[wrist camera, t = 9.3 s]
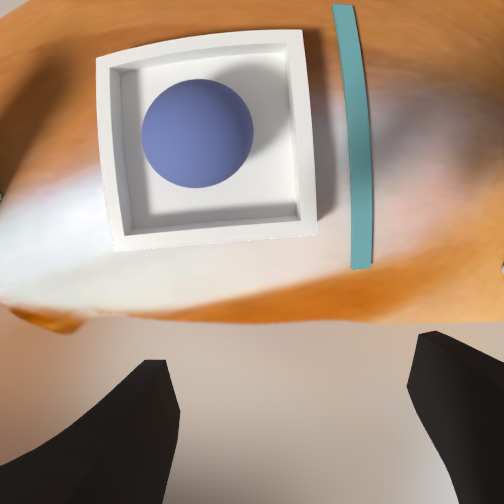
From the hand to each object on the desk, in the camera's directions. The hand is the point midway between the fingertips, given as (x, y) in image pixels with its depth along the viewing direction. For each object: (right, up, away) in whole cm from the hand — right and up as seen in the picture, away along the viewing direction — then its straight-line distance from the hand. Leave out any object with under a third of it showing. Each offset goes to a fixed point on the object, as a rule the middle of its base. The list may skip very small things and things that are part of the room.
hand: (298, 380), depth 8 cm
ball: (-4, +9, +5) cm, 11 cm away
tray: (-4, +10, +8) cm, 13 cm away
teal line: (+5, +10, +8) cm, 14 cm away
